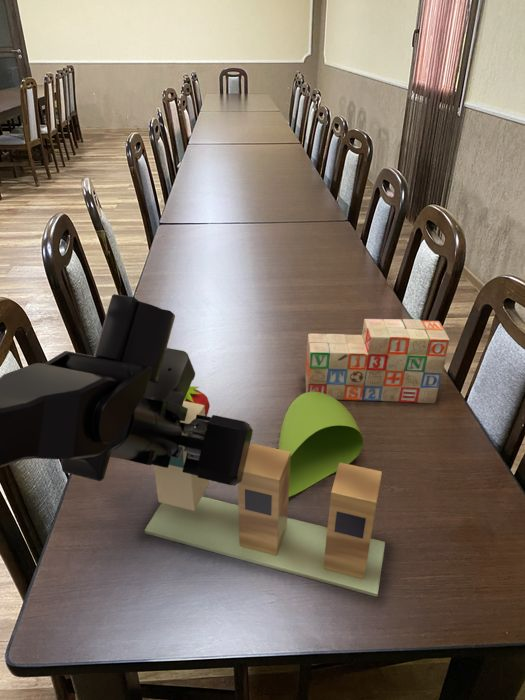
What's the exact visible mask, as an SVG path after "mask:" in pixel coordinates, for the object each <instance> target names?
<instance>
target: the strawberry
mask: <svg viewBox="0 0 525 700" xmlns="http://www.w3.org/2000/svg"><path fill="white" fill-rule="evenodd" d="M198 389H199V386H193V385H192V386H191V385H190V387H189V390H188V392H187V395H186V397H185V399H184V401H186V402H191V403H196V404H201V405H205V416H207V417H208V414H209V411H210V408H211V407H210V406H211V405H210V401H209V398H208V396H207V395H206V394H205V393H203V392H202V391H200V390H198Z"/></svg>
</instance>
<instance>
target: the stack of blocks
mask: <svg viewBox="0 0 525 700" xmlns="http://www.w3.org/2000/svg"><path fill="white" fill-rule="evenodd" d="M306 344H307V345H306V357H305V376H304V377H305V393H307V392H320V393H324V394H327V395H329V396H331V397H333V398H334V399H336V400H337V401H339V400H340V401H360V402H361V401H367V402H368V401H370V402H371V401H373V402H380V401H381V402H400V403H415V404H416V403H419V404H436V401H437V398H438V394H439V387H440V384H441V379H442V376H443V372H444V369H445V365H446V361H447V352H448V348H449V345H450V337H449V336H448V334H447V331H446V330H445V328H444V327H443V325H442V323H441V321H439V320H421V319H414V318H413V319H412V318H402V319H400V318H399V319H397V318H396V319H395V318H394V319H393V318H389V319H388V318H384V319H383V318H364V320H363V327H362V333H361V334H344V333H308V334H307V342H306Z"/></svg>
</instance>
